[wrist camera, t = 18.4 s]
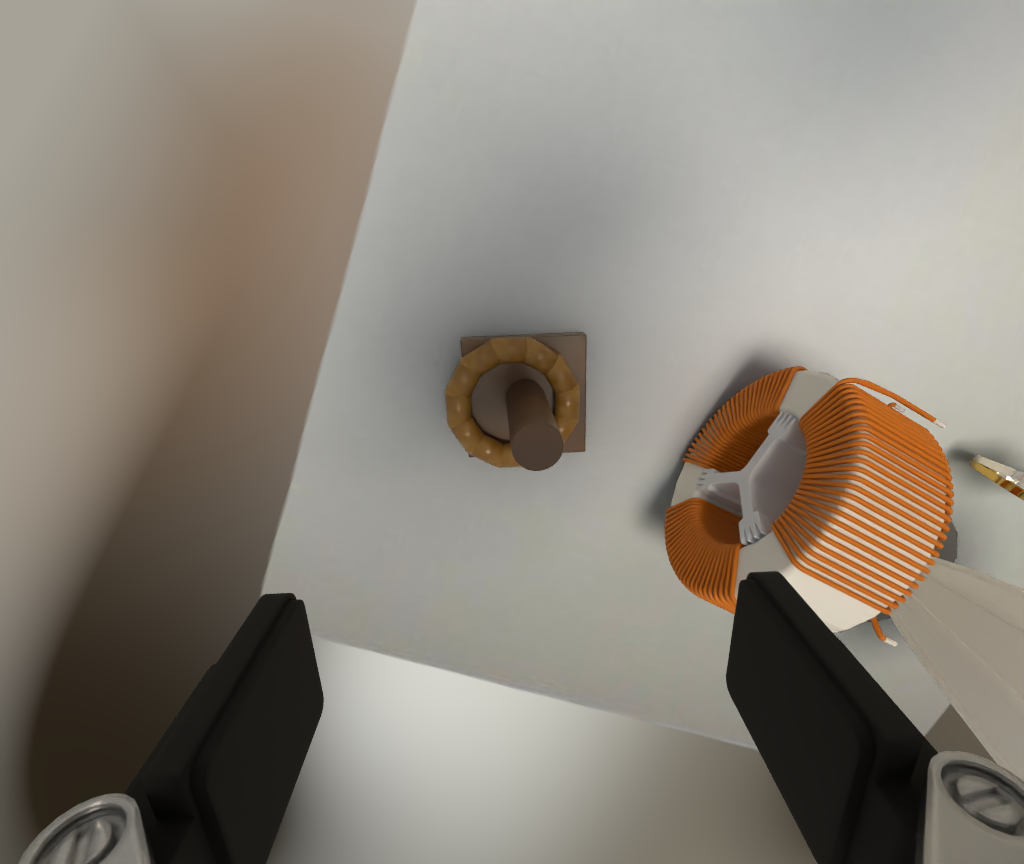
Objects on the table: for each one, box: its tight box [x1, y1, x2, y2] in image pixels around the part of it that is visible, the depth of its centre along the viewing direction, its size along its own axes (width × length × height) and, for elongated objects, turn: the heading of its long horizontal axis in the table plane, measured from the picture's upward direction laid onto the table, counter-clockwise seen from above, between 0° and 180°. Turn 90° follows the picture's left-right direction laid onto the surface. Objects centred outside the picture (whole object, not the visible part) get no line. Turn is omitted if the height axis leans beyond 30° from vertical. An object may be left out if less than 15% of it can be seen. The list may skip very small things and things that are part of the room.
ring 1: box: [445, 337, 580, 468], centre depth 33 cm, size 9×9×2 cm
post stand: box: [461, 332, 586, 471], centre depth 30 cm, size 8×8×10 cm
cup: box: [867, 522, 1024, 781], centre depth 30 cm, size 12×12×22 cm
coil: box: [665, 366, 954, 646], centre depth 30 cm, size 7×15×15 cm, turn 151°
